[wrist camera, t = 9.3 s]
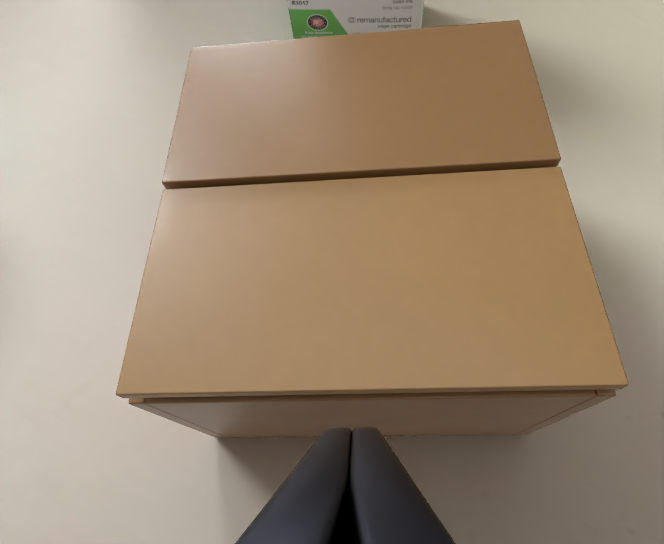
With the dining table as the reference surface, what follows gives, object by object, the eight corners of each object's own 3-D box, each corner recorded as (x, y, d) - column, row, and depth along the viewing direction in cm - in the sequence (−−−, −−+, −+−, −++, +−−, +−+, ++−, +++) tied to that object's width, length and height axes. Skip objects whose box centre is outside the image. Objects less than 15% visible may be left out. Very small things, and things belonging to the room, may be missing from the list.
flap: (622, 389, 11) (630, 385, 11) (122, 398, 12) (114, 395, 12) (556, 174, 14) (560, 165, 14) (167, 196, 15) (162, 189, 15)
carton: (528, 434, 18) (633, 388, 11) (214, 437, 19) (112, 398, 12) (477, 163, 24) (520, 18, 17) (244, 177, 25) (189, 46, 18)
